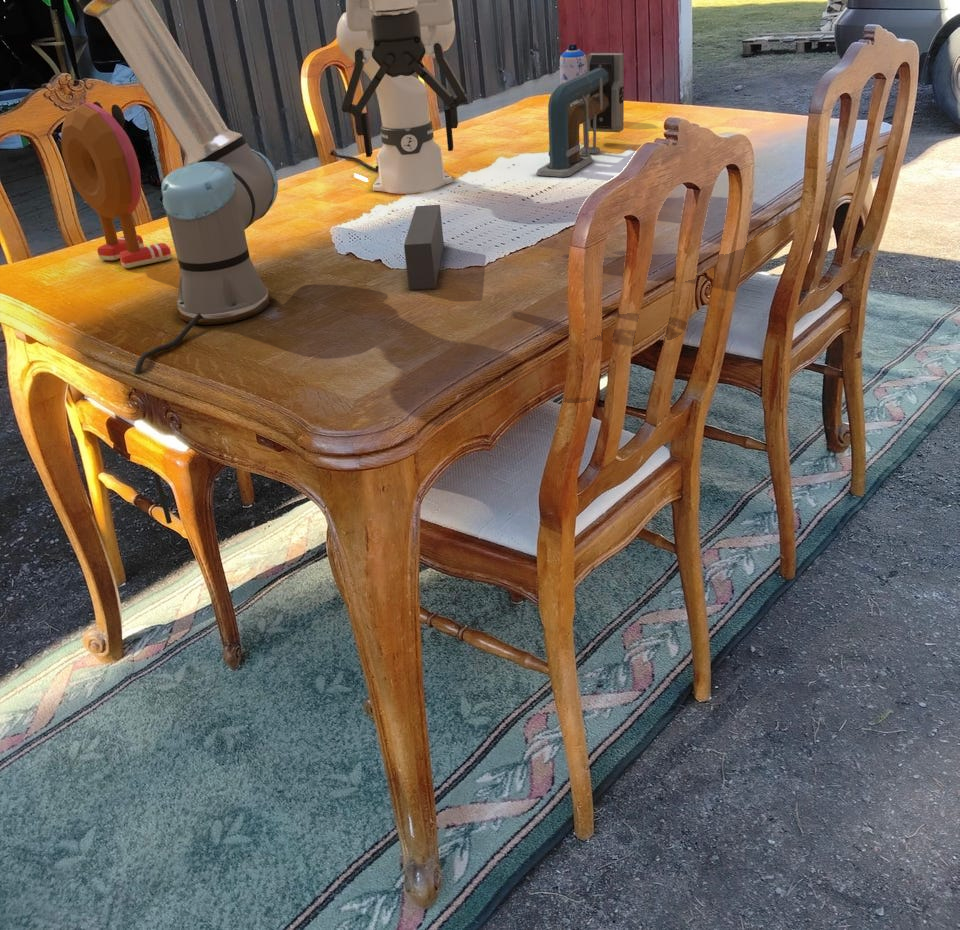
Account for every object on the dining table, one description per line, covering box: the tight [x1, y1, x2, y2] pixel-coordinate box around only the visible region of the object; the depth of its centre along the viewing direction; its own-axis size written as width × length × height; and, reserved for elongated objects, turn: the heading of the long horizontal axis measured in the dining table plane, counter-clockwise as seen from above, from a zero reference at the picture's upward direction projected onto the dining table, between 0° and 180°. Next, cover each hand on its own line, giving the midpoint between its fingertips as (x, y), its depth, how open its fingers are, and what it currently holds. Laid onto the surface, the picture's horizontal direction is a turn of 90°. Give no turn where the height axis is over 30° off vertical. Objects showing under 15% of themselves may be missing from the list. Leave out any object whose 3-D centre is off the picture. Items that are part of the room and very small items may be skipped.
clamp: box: [535, 52, 625, 178], centre depth 233 cm, size 35×9×21 cm, turn 151°
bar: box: [403, 204, 445, 291], centre depth 175 cm, size 23×5×8 cm, turn 178°
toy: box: [60, 101, 172, 269], centre depth 187 cm, size 21×10×30 cm, turn 47°
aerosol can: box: [559, 43, 587, 107], centre depth 273 cm, size 8×8×20 cm
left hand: (410, 152), depth 160 cm, fingers open, 13 cm apart
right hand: (404, 53), depth 186 cm, fingers open, 8 cm apart
